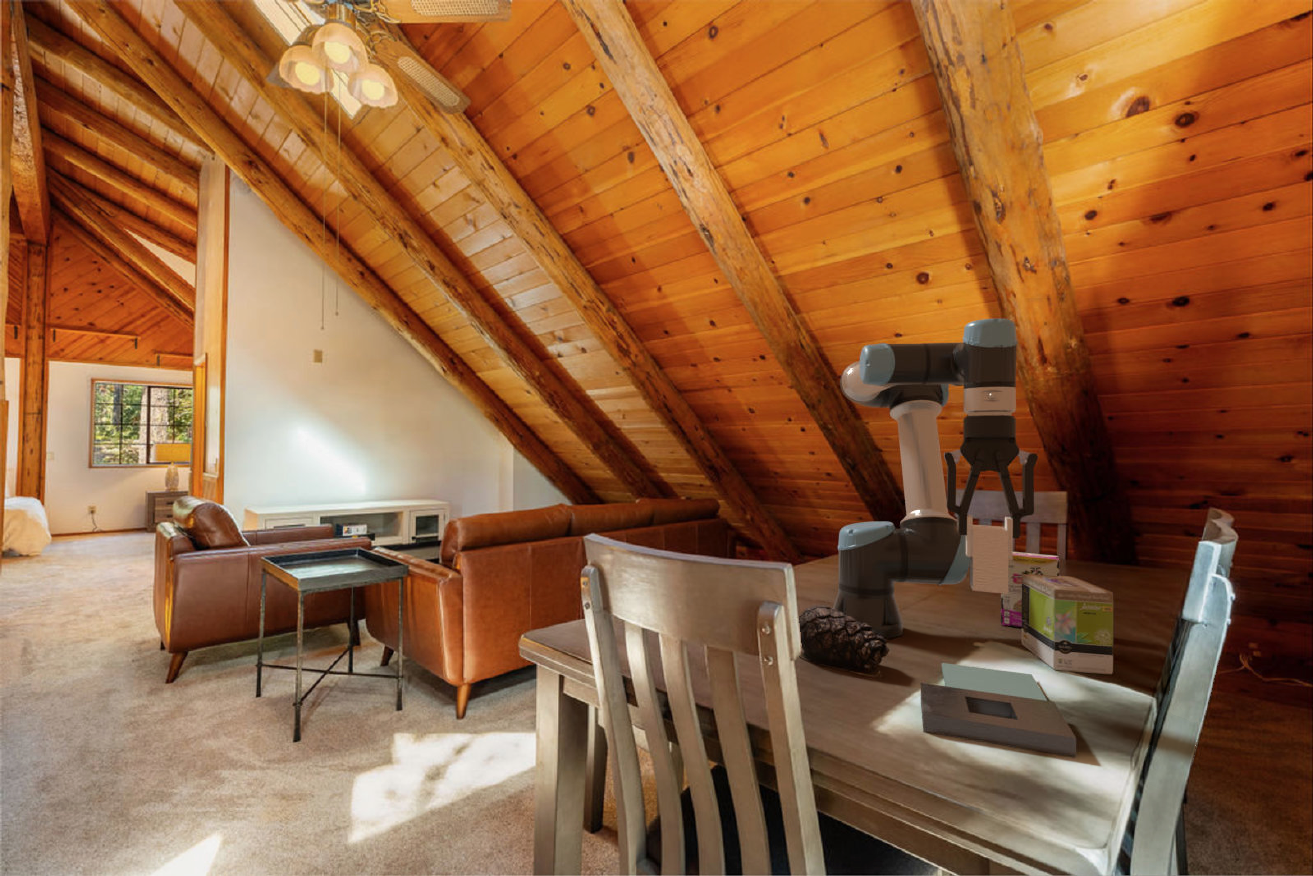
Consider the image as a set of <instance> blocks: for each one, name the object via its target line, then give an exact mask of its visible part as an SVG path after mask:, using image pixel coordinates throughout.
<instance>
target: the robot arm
mask: <svg viewBox="0 0 1313 876" xmlns="http://www.w3.org/2000/svg"><path fill="white" fill-rule="evenodd" d="M963 329H964V330H963V337H962V342H931V343H930V342H929V343H927V342H926V343H925V342H924V343H923V342H922V343H885V342H881V343H877V344H867V345H865V346H863V347H862V349H861V353H860V355H859V361H855V362H853V363H851V364H850V365H848V366H847V367H846V368H845V369H844V370H843V371H842V374H841V375H840V380H839V386H840V390H841V392H842V394H843V395H844V396H845V397H846V398H847V399H848V400H849V401H851V402H853V403H855V404H857V405H861V406H864V407H868V408H869V407H870V408H879V409H880V408H883V409H884V408H888V410H889V416H890V417H891V419H893V420H894V421H896V422H897V430H898V440H899V441H898V442H899V449H900V450H899V451H900V461H901V470H902V472H901V473H902V483H903V491H904V492H903V494H904V500H905V501H904V503H905V511H906V512H905V513H906V515H905V517H904V518H903V519H902V520H901V521H900V524H899V527H900V528H896V526H895V525H894V523H893V522H891V521H887V520H886V521H878V520H877V521H864V522H855V523H850V524H846V525H845V526H843V527H842V528H841V529H840V530H839V533H838V545H837V550H838V591H837V592H838V593H837V595H836V597H835V601H834V604H833V606H832V609H834V610H838V611H840V612H843V613H844V614H846V615H847V616H850V617H853V618H854V619H855V620H857V622H861V623H862V624H863V623H867V624H868V625H869V626H871V627H872V629H871V631H875V632H876V634H877V635H878V636H882V637H883V638H884V639H892V638H897V637H899V636H901V635H903V631H904V623H903V620H902V619H903V618H902V616H901V612H900V609H899V607H898V603H897V600H896V597H895V583H902V584H904V583H905V584H907V583H908V584H927V585H928V584H929V585H938V586H942V585H957V584H959V583H962V581H964V580H965V578H966V576H967V574H968V572H969V570H970V557H972V525H974V524H973V516H972V515H971V514H968V513H969V510H970V506H971V505H972V504H971V503H972V500H973V496H974V493H975V490H976V487H977V484H978V480H979V477H980V474H981V472H989V471H992V472H996V473H997V475H998V478H999V481H1000V484H1001V488H1002V491H1003V494H1004V497H1005V502H1006V505H1007V508H1008V512H1009V516H1004V527H1005V528H1006V529H1007V530H1008V531H1009V554H1008V560H1013V552H1014V551H1013V544H1014V542H1013V539H1020V537H1021V519H1022V518H1025V517H1027V516H1032V515H1034V513H1035V487H1034V486H1035V479H1034V477H1035V475H1034V474H1035V473H1034V470H1035V469H1034V468H1035V466H1036V464H1037V461H1038V459H1039V456H1038V454H1037V453H1034V452H1028V451H1024V450H1022V449H1021V450H1020V447H1019V446H1018V444H1017V439H1016V438H1017V428H1016V427H1017V418H1016V417H1015V415H1012V413H1015V412H1016V410H1017V402H1016V400H1017V397H1016V394H1017V391H1016V388H1017V387H1016V386H1017V384H1016V381H1017V345H1018V340H1017V331H1016V324H1015V322H1014V321H1013V320H1012V319H1009V318H997V317H995V318H985V319H978V320H972V321H970V322H968V323H967V324H965V326H964V328H963ZM950 385H951V386H955V387H962V386H963V408H962V409H963V413H965V414H967V415H966V416H964V417H963V434H962V435H963V437H962V438H963V442H962V444H961V445H960V447H959V449H956V450H953V451H950V452H949V451H946V452H944V453H943V458H944V460H945V463H946V469H947V471H946V485H945V478H944V469H943V462H942V461H943V460H942V454H941V446H940V439H939V432H938V431H939V430H938V421H937V417H938V416H939V415H940V414H941V413H942V411H943V407H945V406H946V405H947V403H948V400H949V396H950V391H949V388H950ZM961 456H962V457H963V458H964V460H965V461H967V463H968V464H969V465H970V469H969V472H968V477H967V479H966V483H965V487H964V491H963V493H962V498H961V500H960V504H959V505H958V504H957V503H956V499H957V497H956V496H957V464H958V463H959V462H960V458H961ZM1016 457H1018V459H1019V464H1020V465H1022V468H1021V469H1022V470H1021V473H1022V474H1021V477H1022V478H1021V479H1022V480H1021V482H1022V484H1021V485H1022V486H1021V487H1022V490H1021V491H1022V495H1021V497H1022V507H1019V504H1018V503H1019V502H1018V501H1017V497H1016V493H1015V489H1014V487H1013V483H1012V480H1011V475H1010V472H1009V466H1010V465H1011V464H1012V462H1013V461H1015V459H1016ZM949 512H951V513H954V514H956V515H957V516H958V519H956V518H954V517H953V516H952V515H950V514H949ZM957 520H958V521H957Z"/></svg>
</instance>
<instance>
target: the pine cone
mask: <svg viewBox="0 0 1313 876" xmlns="http://www.w3.org/2000/svg"><path fill="white" fill-rule="evenodd" d="M798 617H799V623H800V632H801V643H802V647H801V649H802V651H801V652H802V653H801V652H800V653H801V656H800V657H799V658H801V659H803V660H804V661H808V662H809V663H813V664H817V665H821V666H824V667H827V668H831V669H836V670H841V671H842V670H843V671H847V672H850V673H854V674H857V675H858V674H859V675H863V676H868V677H876V678H877V677H883V676H882V674H881V671H880V669H878V668H877V667H878V665H880V664H881V663H882V661H883V658H885V657H886V656H887V655H888V654H889V652H890V648H889V647H888V645H887V642H888V641H887V640H886V638H883V637H882V636H878V635H877V634H876V632H875V631H871V629H872V627H871V626H869V625H868V624H867V623H863V624H862V623H861V622H857V620H855V619H854V618H853V617H850V616H847V615H846V614H844V613H843V612H840V611H838V610H834V609H833V608H831V606H827V605H821V604H816V605H812V606H810V607H807V608H806V609H805V610H804V611H802V612H801V614H800V615H799V616H798Z"/></svg>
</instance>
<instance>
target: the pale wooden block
mask: <svg viewBox="0 0 1313 876" xmlns="http://www.w3.org/2000/svg"><path fill="white" fill-rule="evenodd" d="M1008 554H1009V531H1008V530H1007V529H1006V528H1005V526H1004V525H1003V526H1000V525H982V524H972V557H970V565H969V585H970V587H971V590H972V591H973V592H986V593H995V594H996V593H997V594H1001V593H1004V594H1008Z"/></svg>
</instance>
